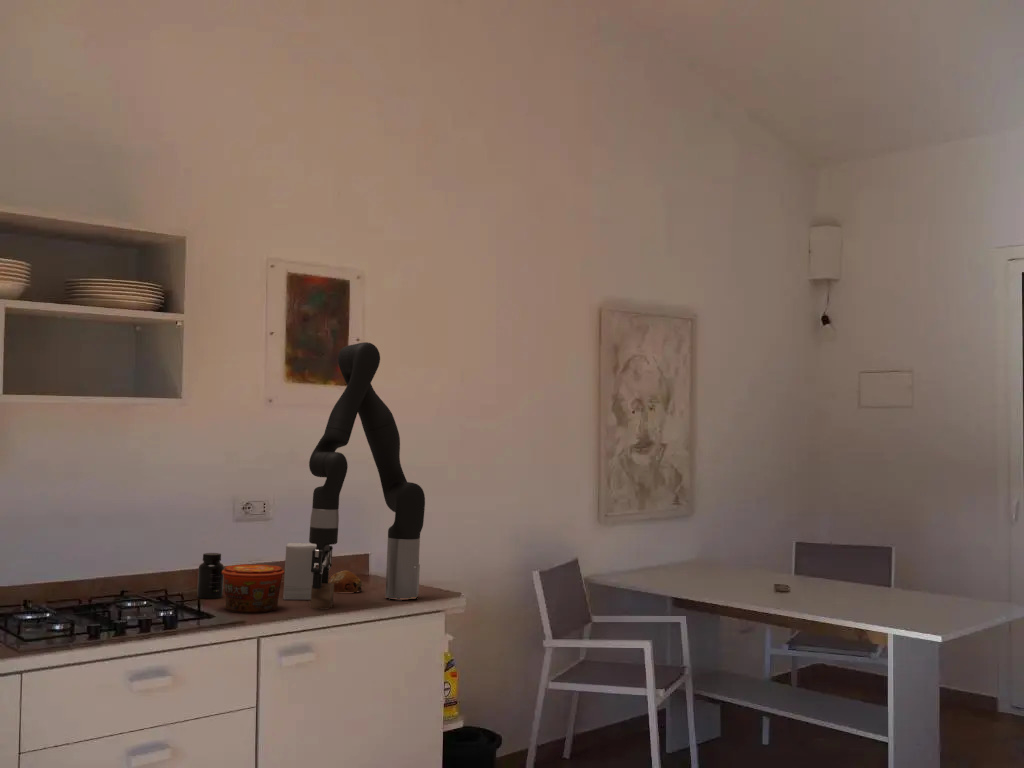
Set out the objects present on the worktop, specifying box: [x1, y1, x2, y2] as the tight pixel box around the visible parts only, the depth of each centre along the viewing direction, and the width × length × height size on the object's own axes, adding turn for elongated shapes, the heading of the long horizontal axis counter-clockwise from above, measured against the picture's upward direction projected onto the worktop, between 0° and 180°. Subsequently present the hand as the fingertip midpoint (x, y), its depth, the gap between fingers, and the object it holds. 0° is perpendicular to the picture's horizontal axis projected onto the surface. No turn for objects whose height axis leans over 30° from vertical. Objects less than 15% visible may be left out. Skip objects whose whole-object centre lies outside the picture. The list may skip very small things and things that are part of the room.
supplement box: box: [282, 542, 319, 601], centre depth 280 cm, size 9×9×15 cm
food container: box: [222, 563, 285, 614], centre depth 259 cm, size 16×16×11 cm
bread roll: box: [328, 569, 364, 592], centre depth 294 cm, size 10×10×8 cm
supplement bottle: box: [196, 552, 225, 600], centre depth 275 cm, size 7×7×12 cm
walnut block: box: [310, 583, 335, 609], centre depth 265 cm, size 5×5×6 cm
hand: (320, 586), depth 266 cm, fingers open, 8 cm apart
